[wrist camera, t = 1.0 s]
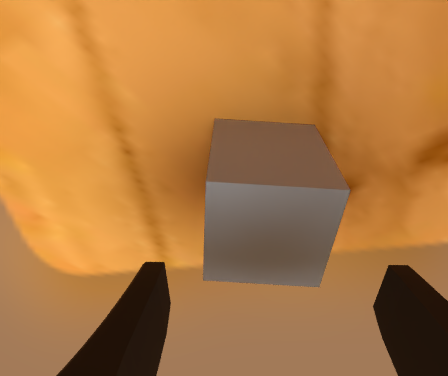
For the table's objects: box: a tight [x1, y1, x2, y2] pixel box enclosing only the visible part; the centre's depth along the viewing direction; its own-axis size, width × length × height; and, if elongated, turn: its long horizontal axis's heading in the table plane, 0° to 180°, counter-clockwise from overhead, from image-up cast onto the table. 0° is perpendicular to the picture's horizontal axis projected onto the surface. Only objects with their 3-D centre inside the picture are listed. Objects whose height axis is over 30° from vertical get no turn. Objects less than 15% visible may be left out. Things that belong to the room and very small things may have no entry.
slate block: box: [203, 119, 351, 287], centre depth 15 cm, size 5×5×6 cm
